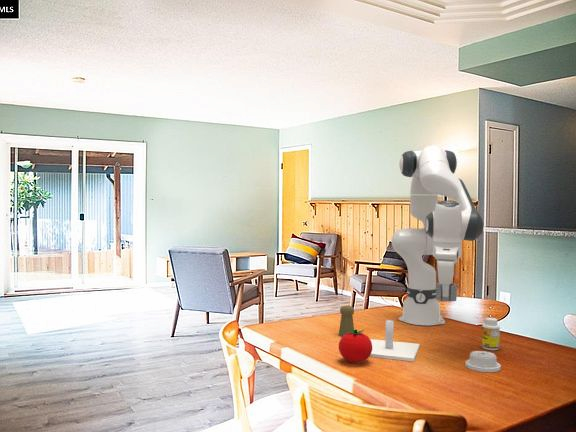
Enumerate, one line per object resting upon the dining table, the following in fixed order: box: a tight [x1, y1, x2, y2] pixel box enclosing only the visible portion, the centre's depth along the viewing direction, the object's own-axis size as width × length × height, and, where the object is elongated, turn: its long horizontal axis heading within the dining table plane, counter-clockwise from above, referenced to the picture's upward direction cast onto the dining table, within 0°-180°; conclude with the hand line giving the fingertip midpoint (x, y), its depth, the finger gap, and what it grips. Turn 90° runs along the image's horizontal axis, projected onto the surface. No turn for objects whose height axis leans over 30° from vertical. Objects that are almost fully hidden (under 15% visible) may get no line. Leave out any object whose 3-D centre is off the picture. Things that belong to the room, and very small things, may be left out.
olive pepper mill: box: [338, 305, 355, 338], centre depth 196 cm, size 6×6×11 cm
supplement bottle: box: [481, 317, 501, 351], centre depth 180 cm, size 6×6×10 cm
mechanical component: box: [465, 350, 502, 373], centre depth 160 cm, size 10×4×10 cm
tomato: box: [338, 329, 372, 364], centre depth 164 cm, size 10×10×10 cm
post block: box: [369, 319, 420, 362], centre depth 176 cm, size 18×18×10 cm
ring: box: [436, 282, 458, 303], centre depth 170 cm, size 6×6×5 cm
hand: (446, 294), depth 170 cm, fingers closed on ring, 6 cm apart
